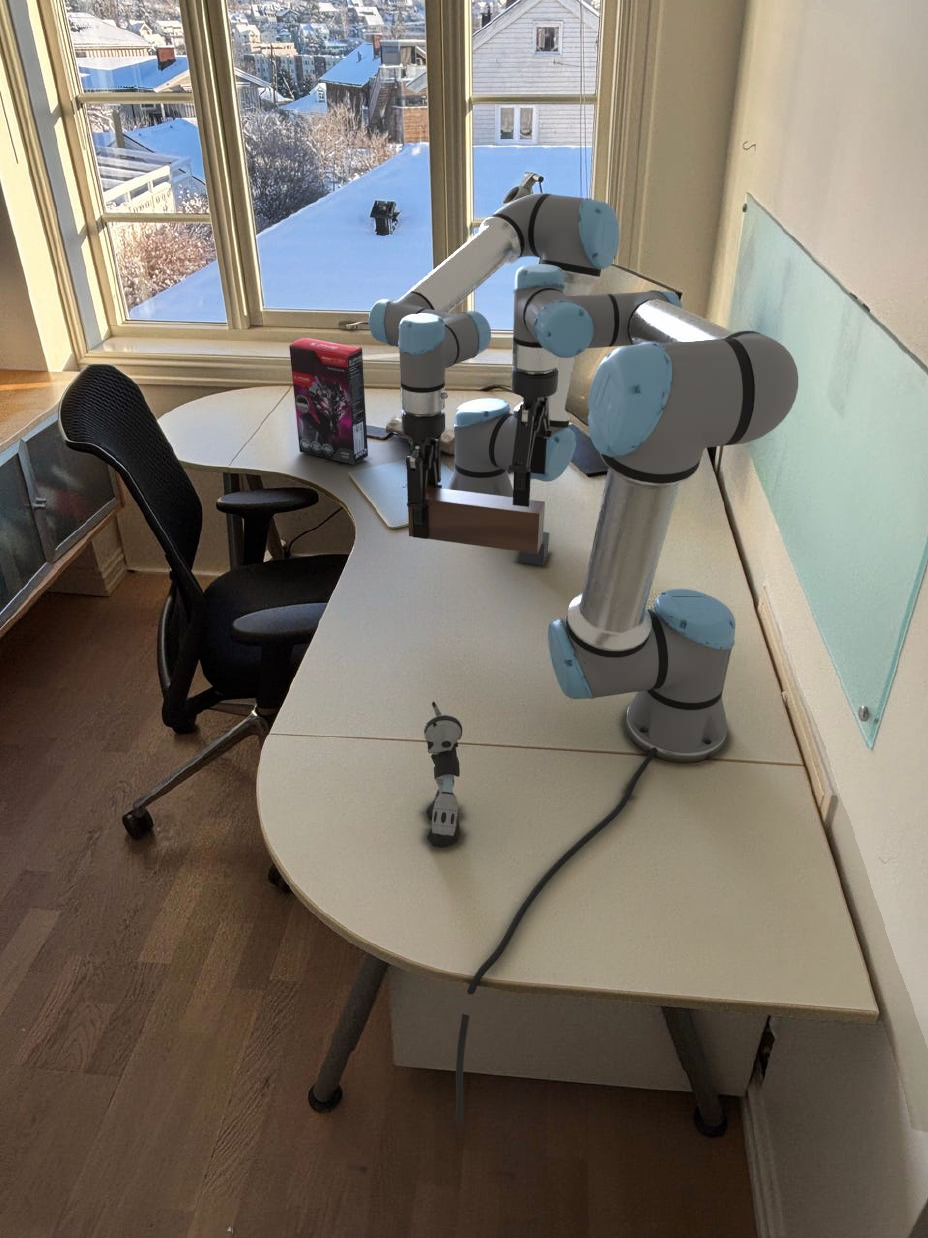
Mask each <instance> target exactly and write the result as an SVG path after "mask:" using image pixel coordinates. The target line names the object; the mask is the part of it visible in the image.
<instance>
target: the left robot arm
mask: <svg viewBox="0 0 928 1238" xmlns="http://www.w3.org/2000/svg"><path fill="white" fill-rule="evenodd" d="M620 233H621V232H620V224H619V220H618V216H617V213H616V210H614V208H613V207H612V206H611V205H610V204H609V203H607V202H605V201H602V200H597V199H593V198H587V197H578V196H569V195H561V194H552V193H545V192H538V193H532V194H528V195H525V196H522V197H520V198H517V199H515V200H513V201H511V202H509V203H507V204H506V205H504V206H502V207H501V208H499V209H497V210H496V211H495V212H492V214H490V216H487V218H485V220H484V221H483V222H482V223H481V224H480V226H479V230H478V233H476V234H474V236H473V237H472V238H470V239H469V240H468V241H467V242H465V243H464V244H463V245H462V246H461V247H460V248H458V249H457V250H456V251H455V252H453V254H451V255H450V256H449V257H448V258H447V259H445V260H444V261H443V262H441V264H439V265H438V266H437V267H436V268H434V269H433V270H432V271H431V272H429V273H428V275H426V276H425V277H424V278H423V279H422V280H420V281H419V282H418V283H416V285H414V286H413V287H412V288H411V289H409V290H408V291H407V292H406V293H405V294H403V296H401V297H400V298H399V299H398V300H394V299H384V298H383V299H380V300H377V301H376V302H375V303H374V304H373V306H371V309H370V311H369V314H368V328H369V332H370V334H371V336H372V337H373V338H374V339H375V341H378V342H380V343H383V344H386V345H388V346H390V347H396V348H398V350H399V351H398V352H399V371H400V374H399V375H400V380H399V381H400V382H399V383H400V385H399V386H400V387H399V388H400V389H399V390H400V391H399V392H400V408H401V413H400V414H401V415H400V416H401V418H402V431H403V432H404V433H405V434H406V435H408V436H409V437H411V438H412V443H409V453H410V456H408V455H407V456H406V457H405V460H404V462H405V467H406V490H407V491H406V492H407V502H406V506H407V509H408V508H412V516H413V537H412V538H414V539H415V538H417V539H421V540H422V539H423V540H429V539H428V505H426V494H427V487H434V488H442V489H443V485H442V484H440V483H441V482H442V473H441V472H442V471H441V470H442V466H441V465H442V464H441V463H442V462H441V451H440V442H441V434H442V433H443V432H444V431H445V428H446V411H445V407H446V399H448V397H449V393H448V392H446V391H445V389H446V369H448V368H450V367H452V366H455V365H458V364H460V363H463V362H466V361H467V360H471V359H474V358H476V357H477V356H478V355H480V354H482V353H483V352H485V351H486V350H487V349H488V348H489V346H490V344H491V340H492V329H491V326H490V323H489V321H488V320H487V318H486V317H485V316H484V315H483V314H482V313H481V312H479V311H477V310H467V311H461V312H460V313H457V314H455V313H451V312H452V311H453V310H454V309H455V308H456V307H458V306H459V305H460V304H461V303H462V302H463V301H464V300H465V299H467V297H469V296H470V295H471V294H472V293H473V292H475V290H478V288H479V287H480V286H481V285H482V284H484V283H485V282H486V281H487V280H488V279H489V278H491V276H493V275H494V274H495V273H496V272H498V270H499V269H501V268H502V267H503V266H510V265H512V264H514V263H516V262H517V261H518V260H519V259H521V258H526V257H531V258H532V257H534V258H539V259H542V261H541V264H546V265H553V266H557V267H559V268H561V269H562V270H563V272H564V284H565V288H564V292H563V293H564V294H565V295H567V296H575V295H589V292H590V289H591V287H592V285H593V284H594V283H596V282H597V281H599V280H600V278H601V273H602V270H605V269H608V268H610V267H611V265H613V263H614V260H615V259H616V257H617V255H618V251H619V246H620V236H621V235H620ZM575 361H576V356H575V357H572V358H561V357H559V364H558V367H556V368H557V370H558V387H557V391H556V393H555V394H553V395H551V396H548V400H549V420H550V428H549V430H548V431H552V435H551V437H544V438H547V447H546V465H545V474H537V473H531V480H536V481H541V482H544V483H545V482H546V483H549V482H553V481H555V480H557V479H558V478H559V477H561V475H563V473H564V472H565V471H566V470H567V469H568V467H569V465H570V464H571V462H572V459H573V457H574V454H575V452H576V447H577V439H576V438H577V436H576V433H575V431H573V429H571V428H570V427H569V426H570V420H571V417H570V416H569V414H568V413H567V411H566V404H567V400H568V396H569V395H568V394H569V389H570V385H571V380H572V374H573V371H574V370H573V369H574V366H575ZM520 404H523V401H522V402H519V404H517V405H516V406H515V407H514V409H513V413H511V406H510V403H509V402H508V401H506V400H505V399H501V398H480V399H479V398H477V399H473V400H469V401H466V402H464V403H463V404H461V405H459V406H458V407H457V409H456V410H455V415H454V423H453V428H454V439H455V454H454V470H453V473H452V477H451V480H450V482H449V485H448V487H447V489H450V490H458V491H465V492H473V493H481V494H489V495H497V496H505V497H513V484H512V482H511V479H510V476H509V475H510V474H509V472H511V473H514V471H511V470H509V465H512V459H513V451H514V443H515V435H516V428H517V415H518V414H517V411H518V409H519V407H520ZM519 464H521V463H519Z"/></svg>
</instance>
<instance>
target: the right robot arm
mask: <svg viewBox="0 0 928 1238" xmlns="http://www.w3.org/2000/svg"><path fill="white" fill-rule="evenodd" d="M564 288H565V284H564V272H563V270H562V269H561V268H559V267H557V266H553V265H546V264H542V263H534V264H532V263H531V264H527V265H522V266H521V267H519V268H517V270H516V272H515V278H514V288H513V292H512V293H513V327H512V347H511V365H512V366H513V368H512V369H511V381H510V382H511V383H510V389H511V391H512V393H514V394H515V395H517V396H520V397H521V398H522V402H523V404H520V403H519V404H520V407H519V409H518V411H517V414H518V415H517V428H516V435H515V443H514V451H513V459H512V465H509V470H511V471H514V472H513V481H512V483H513V484H512V488H513V505H516V506H524V507H529V502H530V500H531V482H532V481H531V480H532V479H531V473H537V474H545V465H546V447H547V438H544V437H551V435H552V431H548V430H549V428H550V420H549V400H548V396H551V395H553V394H555V393H556V391H557V387H558V370H557V368H556V367H558V364H559V357H561V358H572V357H575V358H576V357H577V356H578V355H580V354H582V353H583V352H585V351H586V349H599V348H600V349H603V348H613V347H617V348H615V349H613V350H612V351H610V352H609V353H607V354H606V356H604V358H603V359H602V361H600V363H599V365H598V366H597V368H596V371H595V373H594V375H593V378H592V381H591V384H590V388H589V393H588V400H587V409H589V412H588V415H587V426H588V428H587V429H588V433H589V437H590V440H591V442H592V444H593V446H594V448H595V449H596V450H597V452H599V455H600V459H601V460H602V462H603V463H604V464H605V466H606V467H607V473H606V478H605V483H604V486H603V487H604V488H603V492H602V498H601V502H600V507H599V512H598V517H597V520H596V521H597V522H596V526H595V532H594V536H593V541H592V545H591V551H590V557H589V559H588V560H589V561H588V566H587V571H586V575H585V581H584V585H583V590H582V593H580V594H578V595H577V596H575V597H574V598H573V599H572V601H571V602H570V604H569V606H568V608H567V611H566V618H561V617H560V618H557V619H556V620H552V621H550V622H549V625H548V627H547V640H548V641H547V643H548V649H549V654H550V660H551V664H552V668H553V671H554V675H555V678H556V681H557V683H558V686H559V688H560V690H561V691H562V693H563V694H564V696H566V697H567V698H569V699H571V700H583V699H584V700H585V699H591V700H595V699H597V698H605V697H611V696H617V695H623V694H629V693H630V694H631V693H636V694H635V695H634V697H633V699H632V701H631V702H630V704H629V705H628V707H627V711H626V719H625V728H626V732H627V734H628V736H629V738H630V739H631V741H632V742H634V744H636V745H637V746H638V747H639V748H640V749H641V750H643V751H645V752H646V753H648V754H647V756H646V757H645V758H644V760H643V761H642V762H641V764H640V765H639V767H638V768H637V769H636V771H635V773H634V774H633V776H632V778H631V779H630V781H629V783H628V785H627V787H626V789H625V792H624V794H623V796H622V798H621V799H620V801H619V803H618V804H617V805H616V807H615V808H614V809H613V810H612V811H611V812H610V813H608V815H607V816H605V818H603V819H602V820H601V821H600V822H599V823H598V824H596V825H595V826H593V828H592V829H590V830H589V831H587V833H586V834H585V835H584V836H582V837H581V839H579V840H578V841H577V842H576V843H575V844H574V845H573V846H572V847H570V848H569V849H568V850H567V851H566V852H565V853H564V854H563V855H562V856H561V857H560V858H559V859H558V860H557V861H556V862H555V863H554V864H553V865H552V866H551V867H550V868H549V870H547V871H546V873H545V874H544V875H543V876H542V877H541V879H540V880H539V881H538V882H537V883H536V885H535V886H534V888H532V890H531V891H530V892H529V894H528V896H527V897H526V899H525V900H524V902H523V903H522V904H521V906H520V907H519V909H518V910H517V912H516V914H515V916H514V917H513V919H512V921H511V923H510V925H509V926H508V929H507V930H506V932H505V934H504V936H503V938H502V939H501V941H500V943H499V944H498V946H497V947H496V948H495V950H494V951H493V953H492V954H491V955H490V956H489V957H488V958H487V959H486V960H485V961H484V962H483V963H482V964H481V966H480V967H479V968H478V969H477V971H476V972H475V973H474V976H473V978H472V979H471V982H470V983H469V986H468V989H467V990H466V992H467V995H473V994H475V992H476V991H477V988H478V986H479V984H480V982H481V980H482V979H483V977H484V976H485V974H486V973H487V971H488V970H489V969H490V968H492V967H493V966H494V964H495V963H496V962H497V961H498V960H499V958H500V957H501V956H502V954H503V953H504V951H505V950H506V948H507V946H508V945H509V943H510V942H511V939H512V938H513V937H514V934H515V932H516V931H517V928H518V927H519V924H520V923H521V921H522V919H523V917H524V916H525V914H526V913H527V911H528V909H529V908H530V906H531V905H532V903H533V902H534V901H535V900H536V898H537V896H538V895H539V893H540V892H541V891H542V890H543V889H544V887H545V886H546V885H547V884H548V883H549V881H550V880H551V879H552V878H553V877H554V875H555V874H557V872H558V871H559V870H560V869H561V868H562V867H563V866H564V865H565V864H566V862H568V861H569V860H570V859H571V858H572V857H573V856H574V855H575V854H576V853H578V851H580V850H581V849H582V848H583V847H585V845H586V844H587V843H588V842H590V840H592V838H594V837H595V836H596V835H597V834H598V833H600V832H601V831H602V830H603V829H604V828H606V827H607V826H608V825H609V824H610V823H611V822H613V821H614V819H616V818H617V816H618V815H619V814H620V813H621V812H622V810H623V809H624V807H625V806H626V804H627V803H628V802H629V800H630V797H631V795H632V793H633V791H634V788H635V786H636V784H637V783H638V781H639V779H640V778H641V775H643V772H645V770H646V769H647V767H648V765H649V764H650V763H651V761H652V760H653V758H654V757H656V758H659V759H662V760H666V761H670V762H675V763H694V762H700V761H703V760H706V759H709V758H711V757H714V755H716V754H718V752H720V751H721V750H722V748H723V747H724V744H725V743H726V740H727V739H726V738H727V734H728V721H727V716H726V712H725V708H724V707H725V706H724V701H723V692H724V686H725V682H726V678H727V672H728V668H729V664H730V659H731V654H732V651H733V650H732V649H733V648H734V646H735V637H736V636H735V635H736V618H735V616H734V614H733V612H732V611H731V609H730V608H729V607H728V606H727V605H726V604H725V603H723V602H722V601H721V600H719V599H717V598H715V596H712V595H709V594H707V593H704V592H701V591H699V590H698V591H697V590H694V589H689V588H670V589H667V590H666V589H665V590H664V591H662V592H661V593H660V594H658V595H657V597H656V599H654V602H653V607H652V608H647V604H648V600H649V596H650V593H651V589H652V586H653V583H654V579H655V576H656V571H657V568H658V564H659V561H660V558H661V553H662V550H663V547H664V543H665V539H666V536H667V532H668V528H669V525H670V521H671V518H672V514H673V511H674V507H675V503H676V500H677V497H678V492H679V489H680V486H681V483H684V482H686V481H688V480H689V479H691V478H692V477H694V475H695V474H696V473H697V472H698V469H699V466H700V463H701V461H702V457H703V453H704V451H705V450H706V449H707V448H717V447H725V446H726V447H727V446H734V445H743V444H747V443H749V442H753V441H756V440H758V439H761V438H763V437H765V436H766V435H767V434H769V433H771V432H772V431H773V430H775V429H776V428H777V427H778V426H779V425H780V424H781V423H782V422H783V421H784V420H785V419H786V418H787V416H788V414H789V413H790V412H791V410H792V408H793V405H794V403H795V401H796V398H797V395H798V390H799V373H798V372H799V371H798V367H797V365H796V362H795V359H794V357H793V355H792V354H791V353H790V352H789V350H788V349H787V347H785V346H784V345H783V344H781V342H778V341H777V340H776V339H774V338H772V337H769V336H767V335H765V334H762V333H761V332H759V331H758V332H757V331H755V330H750V329H749V330H747V329H743V330H738V331H734V330H731V329H729V328H726V327H724V326H721V325H719V324H717V323H715V322H713V321H710V320H708V319H706V318H704V317H702V316H700V315H697V314H695V313H693V312H691V311H688V310H686V309H684V307H683V303H682V301H681V300H680V297H679V295H678V294H677V293H675V292H673V291H670V290H666V291H665V290H655V289H653V290H652V289H651V290H648V291H636V292H622V293H597V294H588V295H575V296H567V295H565V294H564V293H563V292H564ZM519 463H521V464H519ZM511 471H510V472H511ZM469 1023H470V1015H468V1014H465V1013H462V1014H461V1019H460V1027H459V1033H458V1040H457V1049H456V1063H455V1124H456V1125H457V1126H461V1125H462V1124H463V1113H464V1066H465V1065H464V1062H465V1050H466V1042H467V1041H466V1040H467V1036H468V1035H467V1034H468V1028H469Z"/></svg>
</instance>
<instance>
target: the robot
mask: <svg viewBox="0 0 928 1238" xmlns="http://www.w3.org/2000/svg"><path fill="white" fill-rule="evenodd" d="M431 706H432V708H433V711H434V714H435V716H434V717H432V718H431V719H430V720H429V721H428V722H425V723H426V724H425V726H424V728H423V734H424V740H426V744H427V746H426V747H427V753H428V754H430V758H431V760H432V763H433V764H434V766H433V775H434V777H433V778H434V780H435V782H436V784H437V788H438V789H437V791H436V794H435V796H434V799H433V800H432V802H431V803H430V805H429V806H428V807H427V809H426V811H425V812H426V814H427V817H428V819H429V820H430V821H431V826H430V829H429V830H428V832H427V836H426V839H427V841H429V842H430V844H431V845H432V846H434V847H438V848H443V847H445V848H446V847H449V846H451V845H453V844H455V843H458V841H459V838H460V835H461V830H460V823H459V820H458V816H459V815H460V812H459V803H458V798H457V795H455V793H454V792H453V790H454V789H453V788H454V786H455V779H454V778H455V777H457V778H459V777H460V774H461V769H460V761H459V757H458V755H457V754H458V752H457V748H458V747H459V743H458V741H460V740H461V738H462V737H463V726H462V723H461V721H460V720H459V719H458V718H455V716H452V715H450V714H447V713H446V714H442V712H441V710H440V709H439V706H438V705H437V703H436V702H435V701H432V702H431Z"/></svg>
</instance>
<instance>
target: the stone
mask: <svg viewBox="0 0 928 1238" xmlns="http://www.w3.org/2000/svg"><path fill="white" fill-rule="evenodd" d="M384 431H385V433H387V434H389V433H394V434H397V436H398V437H399V438H402V439H405V440H406V441H407V443H408V444H411V443H412V438H411V437H409V436H408V435H406V434H405V433H404V432H403V431H402V418H401V415H393V416H392V417H390V419H389V420H388V421H387V422H386V425H385V430H384ZM440 452H444V453H446V454H450V455H455V439H454V427H451V428H450V427H449V428H448V427H445V431H444V432H443V433H442V434H441V442H440Z"/></svg>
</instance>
